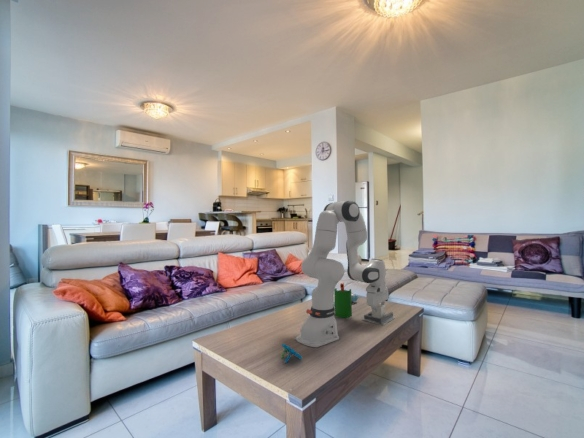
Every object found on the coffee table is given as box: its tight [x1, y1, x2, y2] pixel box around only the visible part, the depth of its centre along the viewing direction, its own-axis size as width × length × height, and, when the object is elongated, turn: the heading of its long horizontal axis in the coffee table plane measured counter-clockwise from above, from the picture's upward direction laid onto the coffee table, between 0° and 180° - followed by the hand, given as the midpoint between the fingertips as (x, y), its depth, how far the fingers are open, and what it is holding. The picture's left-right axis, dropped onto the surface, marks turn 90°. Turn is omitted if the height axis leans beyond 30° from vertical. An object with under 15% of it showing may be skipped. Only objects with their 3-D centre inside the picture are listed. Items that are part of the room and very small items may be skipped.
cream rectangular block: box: [371, 303, 386, 318], centre depth 160 cm, size 5×6×7 cm
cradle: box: [361, 310, 396, 326], centre depth 160 cm, size 15×13×3 cm
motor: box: [334, 282, 353, 319], centre depth 168 cm, size 10×9×20 cm
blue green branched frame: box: [280, 343, 303, 364], centre depth 115 cm, size 11×6×10 cm
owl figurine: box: [334, 289, 360, 306], centre depth 196 cm, size 28×9×15 cm
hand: (378, 310), depth 160 cm, fingers open, 8 cm apart
